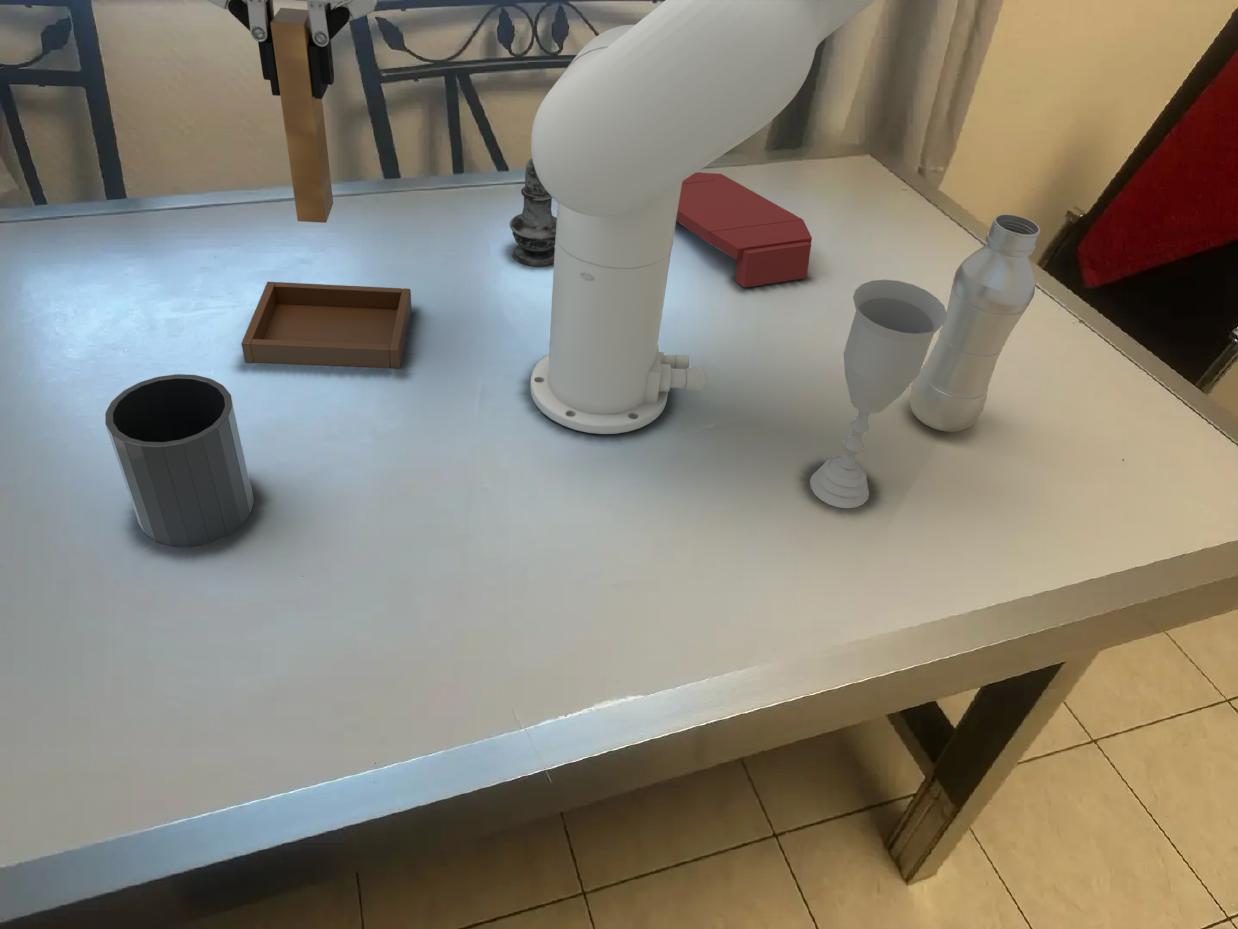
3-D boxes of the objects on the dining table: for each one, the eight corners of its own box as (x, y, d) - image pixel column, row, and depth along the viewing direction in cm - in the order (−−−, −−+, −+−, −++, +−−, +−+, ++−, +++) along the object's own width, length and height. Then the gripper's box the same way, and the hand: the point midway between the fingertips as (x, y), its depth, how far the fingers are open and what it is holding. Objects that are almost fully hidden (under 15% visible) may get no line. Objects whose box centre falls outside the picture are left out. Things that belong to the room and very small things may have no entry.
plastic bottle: (925, 389, 93) (998, 198, 80) (987, 423, 90) (1073, 230, 77) (889, 414, 89) (959, 218, 76) (952, 451, 86) (1037, 253, 73)
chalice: (879, 525, 78) (950, 341, 66) (797, 508, 78) (852, 323, 67) (879, 468, 83) (944, 289, 71) (802, 452, 84) (853, 272, 72)
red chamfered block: (630, 217, 122) (728, 289, 103) (631, 179, 119) (732, 246, 101) (713, 207, 127) (821, 275, 108) (716, 170, 124) (827, 232, 105)
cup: (264, 479, 75) (244, 376, 69) (240, 553, 69) (215, 448, 63) (159, 476, 74) (127, 371, 68) (125, 550, 68) (87, 444, 62)
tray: (411, 310, 95) (410, 288, 93) (399, 373, 87) (398, 350, 85) (271, 304, 94) (267, 281, 92) (245, 367, 86) (240, 343, 84)
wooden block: (333, 203, 83) (312, 9, 73) (326, 223, 81) (303, 24, 70) (305, 201, 83) (280, 7, 73) (297, 221, 80) (269, 21, 70)
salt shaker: (572, 253, 107) (579, 149, 99) (541, 273, 103) (546, 167, 95) (529, 236, 109) (533, 133, 101) (498, 255, 105) (499, 149, 97)
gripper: (397, -185, 67) (409, 81, 79) (157, -210, 65) (207, 66, 77) (383, -167, 61) (399, 117, 73) (120, -194, 59) (180, 101, 71)
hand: (300, 88), depth 75 cm, fingers closed on wooden block, 2 cm apart
